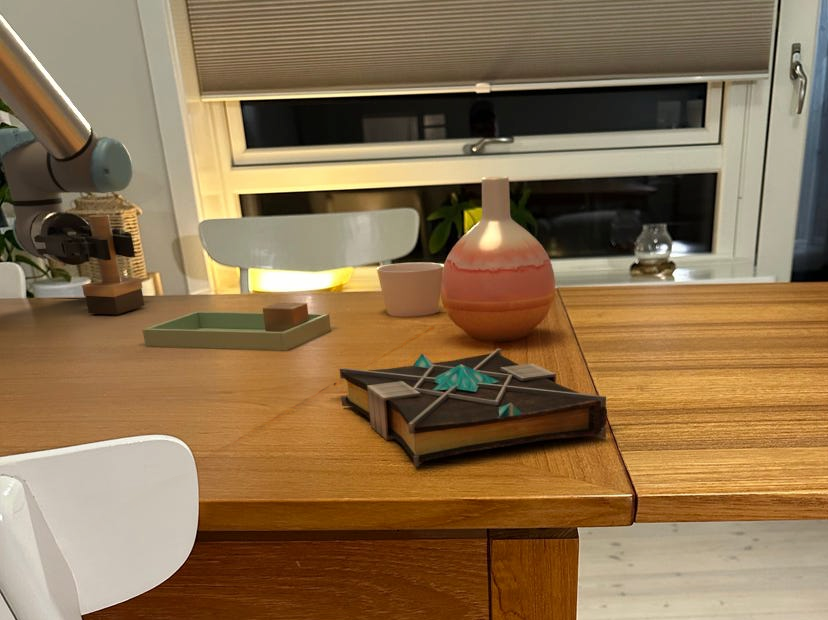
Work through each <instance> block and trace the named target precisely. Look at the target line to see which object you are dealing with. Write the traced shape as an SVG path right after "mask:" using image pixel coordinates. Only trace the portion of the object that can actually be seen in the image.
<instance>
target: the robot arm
mask: <svg viewBox="0 0 828 620" xmlns="http://www.w3.org/2000/svg"><path fill="white" fill-rule="evenodd" d="M0 99H1V100H2V101H3V102H4V104H5V105H6V106H7V107H8V108H9V109H10V110H11V112H13V114H14V115H15V116H16V117H17V119H19V121H20V122H21V123H22V124H23V125H24V126H25V127H11V128H7V127H6V128H1V129H0V161H1V163H2V167H3V170H4V171H3V172H4V174H5V175H4V176H5V178H6V182H7V186H8V189H9V193H10V198H11V201H12V207H13V212H14V216H15V217H14V219H13V224H12V233H13V237H14V239H15V241H16V243H17V244H18V246H19V247H20V248H21V249H22V250H23V251H24V252H26V253H28V254H29V255H31V256H33V257H35V258H37V259H38V258H39V259H40V260H50V261H53V262H58V263H60V264H61V266H63V267H66V266H68V265H69V266H79V265H84V264H85V263H87V262H90V261H91V260H90V259H91V258H93V259H96V260H97V259H102V260H111V256H110V251H109V246H108V242H107V239H102V238H97V237H92V232H91V227H90V223H89V222H87V221H86V220H85V219H84V218H83V217H81V216H79V215H77V214H74V213H69V212H65V209H64V204H63V199H62V195H61V194H65V193H67V194H70V193H71V194H72V193H73V194H75V193H76V194H77V193H83V194H85V193H87V194H88V193H90V194H91V193H93V194H94V193H95V194H96V193H97V194H99V193H100V194H107V193H113V192H121V191H125V190H126V189H127V188H128V187H129V185H130V183H131V180H132V178H133V174H134V173H133V172H134V170H133V169H134V168H133V160H132V157H131V155H130V152H129V151H128V149H127V146H125V144H123V142H121V141H120V140H118V139H116V138H112V137H108V136H102V137H100V136H99V135H98V134H97V133H96V131H95V130H94V128H93V127H92V126H91V125H90V123H89V122H88V121H87V119H85V117H84V116H83V114H82V113H81V112H80V111H79V110H78V108H77V107H76V106H75V104H74V103H73V102H72V101H71V99H70V98H69V97H68V96H67V95H66V93H65V92H64V90H63V89H62V88H61V87H60V86H59V84H58V83H57V82H56V80H55V79H54V78H53V77H52V75H51V74H50V73H49V71H47V69H46V68H45V66H44V65H43V63H41V62H40V60H39V59H38V58H37V56H36V55H35V54H34V53H33V51H32V50H31V49H30V48H29V47H28V45H27V44H26V43H25V41H24V40H23V39H22V38H21V36H20V35H19V34H18V33H17V32H16V30H15V29H14V28H13V26H12V25H11V24H10V23H9V21H8V20H7V19H6V17H5V16H4V14H2V13H1V12H0ZM111 229H112V234H113V239H114V244H115V250H116V255H117V256H120V257H126V258H128V259H129V258H136V253H135V246H134V240H133V239H134V238H133V235H132V232H129V231H125V230H121V228H118V227H113V228H111Z"/></svg>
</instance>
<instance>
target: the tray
mask: <svg viewBox="0 0 828 620" xmlns="http://www.w3.org/2000/svg"><path fill="white" fill-rule="evenodd" d="M308 317H309V321H307V322H305V323H303V324H300V325H298V326H296V327H293V328H291V329H288V330H286V331H284V332H268V331H266V330H265V323H264V316H263V312H252V311H251V312H250V311H249V312H248V311H200V310H199V311H198V310H197V311H193V312H191V313H187V314H184V315H182V316H178V317H175V318H172V319H170V320H167V321H163V322H160V323H158V324H155V325H151V326H149V327H145V328H143V329H142V334H143V340H144V344H145V347H146V348H147V347H148V348H175V349H176V348H180V349H207V350H209V349H210V350H240V351H241V350H244V351H245V350H246V351H276V352H277V351H278V352H289V351H291V350H293V349H295V348H297V347H299V346H301V345H303V344H305V343H308V342H311V341H312V340H313V339H316V338H318V337H320V336H322V335H325V334H327V333H329V332H331V330H332V328H331V327H332V326H331V319H330V318H331V317H330V314H329V313H309V312H308Z"/></svg>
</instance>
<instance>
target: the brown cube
mask: <svg viewBox="0 0 828 620" xmlns="http://www.w3.org/2000/svg"><path fill="white" fill-rule="evenodd" d="M262 313H263V316H264V323H265V330H266V331H268V332H284V331H286V330H288V329H291V328H293V327H296V326H298V325H300V324H303V323H305V322H307V321H309V317H308V313H309V310H308V302H307V303H306V302H276V303H272V304H271V305H267V306H265V307H263V308H262Z"/></svg>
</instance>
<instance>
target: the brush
mask: <svg viewBox="0 0 828 620" xmlns="http://www.w3.org/2000/svg"><path fill="white" fill-rule="evenodd" d="M88 221H89V222H88V223H89V225H90V227H91V232H92V237H97V238H102V239H107V242H108V246H109V251H110V256H111V260H102V259H97V258H96V261H97V266H98V271H99V275H100V279H98V280H96V281H92V282H90V283H85V284H82V285H81V288H82V293H83V296H84V297H85V302H86V307H87V311H88V314H93V315H95V314H96V315H111V316H112V315H113V316H115V315H116V316H118V315H122V314H124V313H128V312H130V311H133V310H135V309H139V308H142V307H144V306H145V299H144V294H143V284H142V279H141V277H125V276H122V275H121V270H120V265H119V261H118V257H117V256H118V255H116V250H115V244H114V239H113V234H112V229H113V228H112V224H111V218H110V215H109V214H91V215H88Z"/></svg>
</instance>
